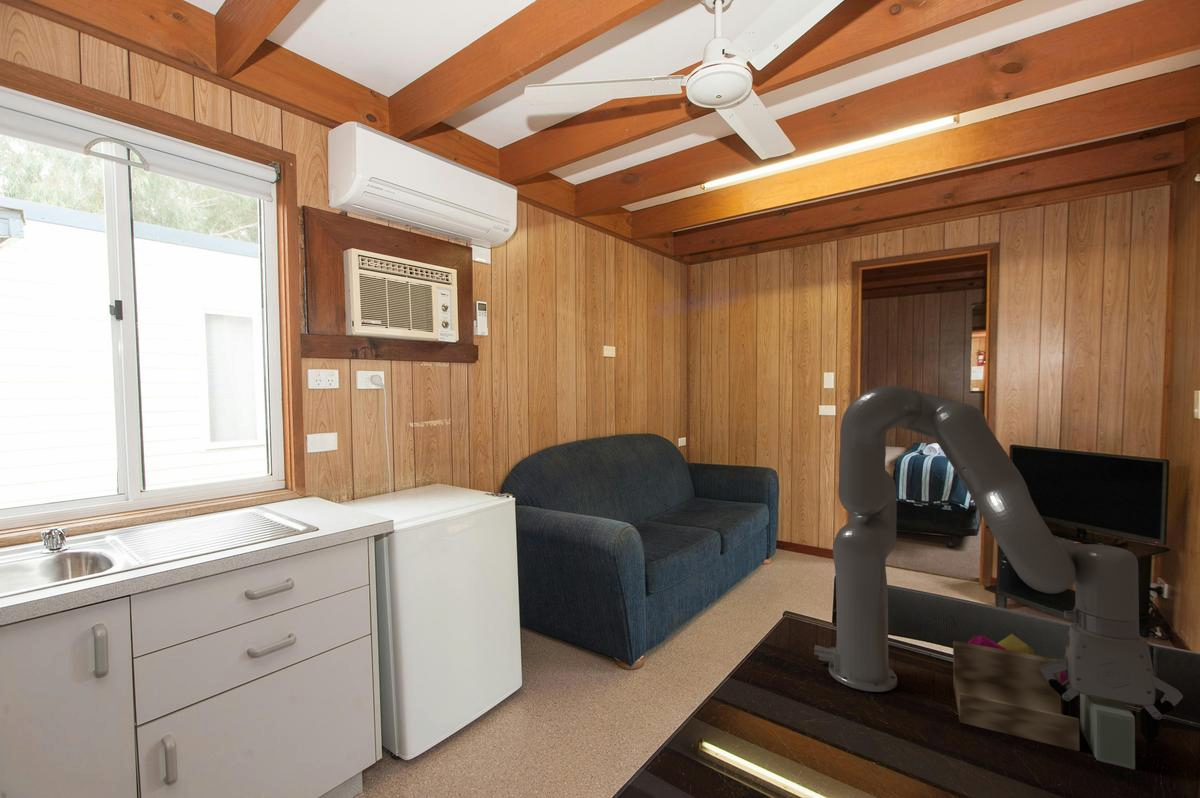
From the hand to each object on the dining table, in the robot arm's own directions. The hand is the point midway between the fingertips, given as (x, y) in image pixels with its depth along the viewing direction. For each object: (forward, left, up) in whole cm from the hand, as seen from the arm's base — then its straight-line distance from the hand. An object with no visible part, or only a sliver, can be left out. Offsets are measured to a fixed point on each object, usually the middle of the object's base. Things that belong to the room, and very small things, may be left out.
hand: (1107, 730), depth 87 cm
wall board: (-12, +4, -3) cm, 13 cm away
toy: (-9, +18, -3) cm, 20 cm away
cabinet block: (0, 0, -3) cm, 3 cm away
